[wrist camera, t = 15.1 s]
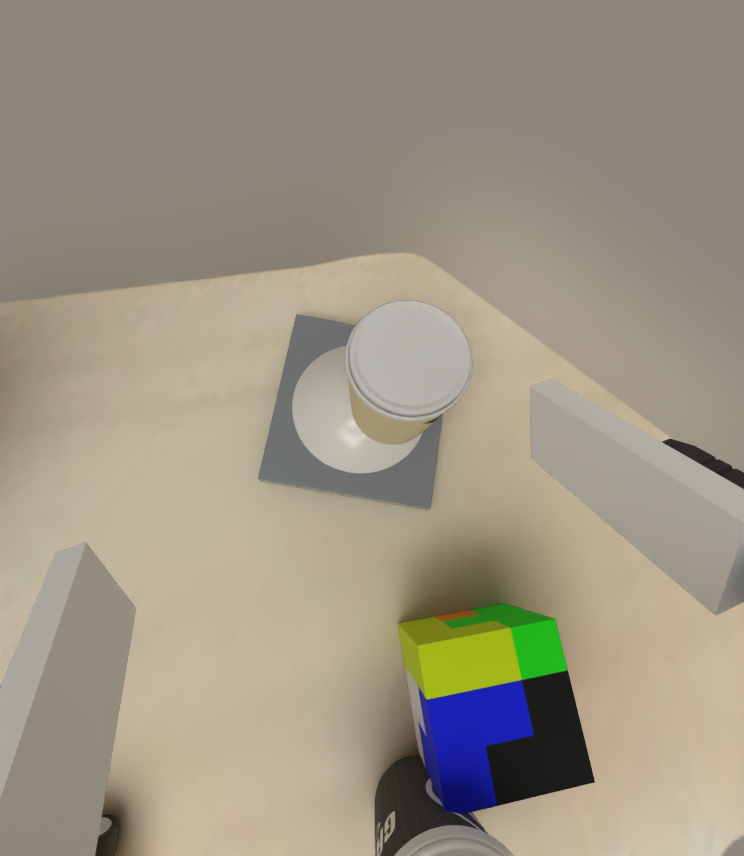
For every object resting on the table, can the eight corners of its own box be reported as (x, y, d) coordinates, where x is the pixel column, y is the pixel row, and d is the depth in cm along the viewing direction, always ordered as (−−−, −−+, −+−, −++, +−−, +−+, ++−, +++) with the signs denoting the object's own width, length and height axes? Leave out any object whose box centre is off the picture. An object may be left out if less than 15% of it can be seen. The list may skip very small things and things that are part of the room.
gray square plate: (260, 481, 42) (257, 478, 41) (297, 321, 47) (296, 313, 45) (427, 510, 43) (430, 508, 41) (447, 349, 48) (451, 342, 46)
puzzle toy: (418, 750, 38) (446, 817, 28) (397, 623, 40) (417, 645, 31) (530, 725, 39) (594, 782, 29) (503, 603, 41) (555, 619, 32)
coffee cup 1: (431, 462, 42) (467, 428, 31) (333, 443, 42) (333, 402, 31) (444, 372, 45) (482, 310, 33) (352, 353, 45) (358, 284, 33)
